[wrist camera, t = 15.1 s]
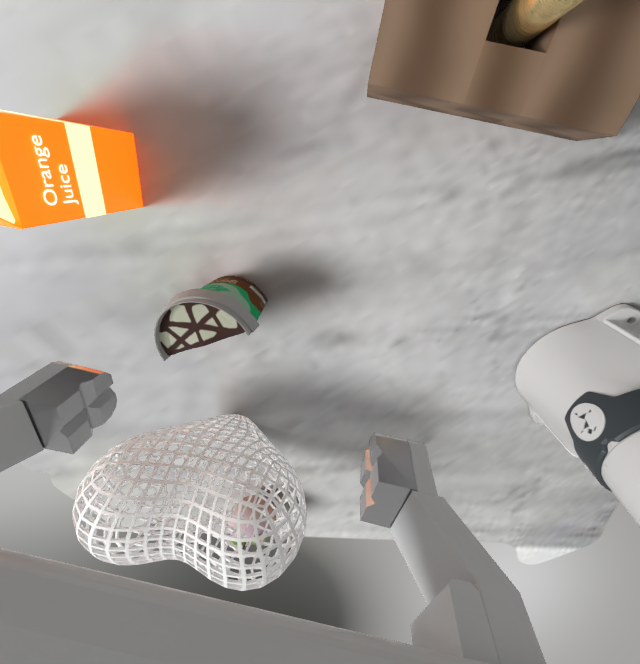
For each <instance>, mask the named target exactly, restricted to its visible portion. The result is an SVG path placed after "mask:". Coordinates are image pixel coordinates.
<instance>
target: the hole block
mask: <svg viewBox="0 0 640 664" xmlns="http://www.w3.org/2000/svg"><path fill="white" fill-rule="evenodd" d="M498 2H499V0H385V4H384V9H383V14H382V19H381V24H380V28H379V33H378V38H377V43H376V48H375V52H374V57H373V62H372V67H371V72H370V77H369V81H368V90H367V97H371V98H375V99H380V100H385V101H390V102H394V103H399V104H404V105H409V106H413V107H418V108H423V109H427V110H432V111H437V112H442V113H446V114H451V115H456V116H461V117H465V118H470V119H475V120H480V121H484V122H489V123H494V124H498V125H503V126H508V127H513V128H517V129H522V130H527V131H532V132H536V133H541V134H546V135H551V136H555V137H560V138H565V139H569V140H574V141H580V140H588V139H596V138H604V137H612V136H617V134H618V133H619V131H620V129H621V128H622V126H623V124H624V122H625V121H626V119H627V117H628V115H629V114H630V112H631V110H632V108H633V107H634V105H635V103H636V102H637V100H638V98H639V96H640V0H583V1H582V2H581V3H579V4H578V5H577V6H575V7H574V8H573V9H571V10H570V11H569V12H567V13H566V14H565V15H563V16H562V17H561V18H559V19H558V20H557V21H555V22H554V23H553V24H551V25H550V26H549V27H547V28H546V29H545V30H543V31H542V32H541V33H539V34H538V35H537V36H535V37H534V38H533V39H531V40H530V41H529V42H527V44H526V46H525V49H524V48H519V47H514V46H509V45H504V44H500V43H495V42H490V41H485V40H486V37H487V34H488V31H489V28H490V25H491V23H492V20H493V17H494V14H495V11H496V8H497V5H498Z"/></svg>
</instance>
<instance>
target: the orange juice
mask: <svg viewBox="0 0 640 664" xmlns="http://www.w3.org/2000/svg"><path fill="white" fill-rule="evenodd" d="M141 207H143V202H142V194H141V187H140V179H139V172H138V164H137V156H136V149H135V141H134V134H133V133H129V132H124V131H118V130H113V129H107V128H102V127H96V126H91V125H85V124H80V123H74V122H69V121H63V120H58V119H52V118H46V117H39V116H33V115H27V114H21V113H15V112H12V111H11V112H9V111H4V110H1V109H0V225H1V226H6V227H12V228H17V229H21V228H22V230H24V228H30V227H35V226H41V225H46V224H52V223H58V222H63V221H69V220H74V219H80V218H89V217H94V216H100V215H105V214H108V213H113V212H119V211H125V210H130V209H136V208H141Z"/></svg>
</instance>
